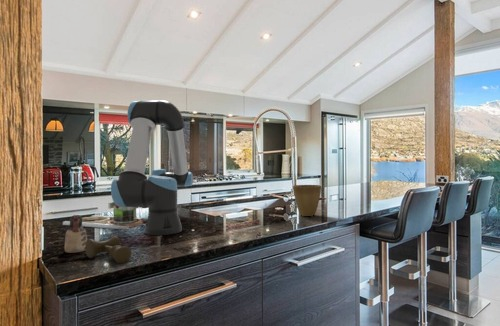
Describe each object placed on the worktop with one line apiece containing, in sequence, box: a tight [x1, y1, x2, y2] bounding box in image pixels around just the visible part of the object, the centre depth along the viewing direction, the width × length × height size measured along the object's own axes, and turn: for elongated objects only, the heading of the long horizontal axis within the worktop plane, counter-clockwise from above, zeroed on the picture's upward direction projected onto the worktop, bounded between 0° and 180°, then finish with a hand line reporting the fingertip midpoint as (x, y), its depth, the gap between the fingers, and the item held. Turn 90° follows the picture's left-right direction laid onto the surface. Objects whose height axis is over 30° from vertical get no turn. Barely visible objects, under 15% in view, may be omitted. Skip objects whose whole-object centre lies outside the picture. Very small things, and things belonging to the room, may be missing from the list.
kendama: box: [85, 235, 132, 264], centre depth 109 cm, size 6×10×20 cm
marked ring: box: [106, 219, 144, 228], centre depth 161 cm, size 15×15×2 cm
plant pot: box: [292, 184, 322, 217], centre depth 182 cm, size 15×15×16 cm
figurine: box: [64, 214, 88, 254], centre depth 117 cm, size 7×7×12 cm
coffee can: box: [113, 203, 137, 224], centre depth 161 cm, size 10×10×14 cm
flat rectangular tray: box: [62, 214, 148, 230], centre depth 164 cm, size 36×19×2 cm, turn 71°
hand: (118, 206), depth 157 cm, fingers closed on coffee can, 10 cm apart
